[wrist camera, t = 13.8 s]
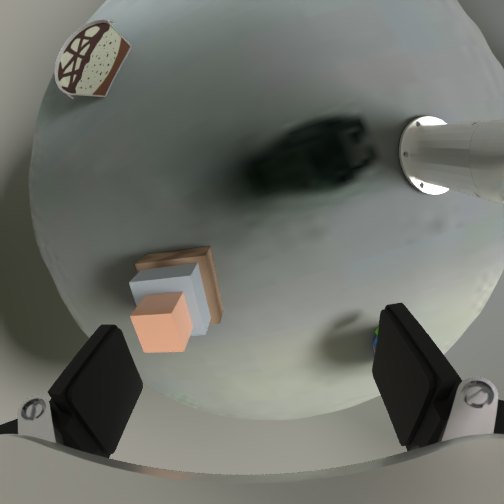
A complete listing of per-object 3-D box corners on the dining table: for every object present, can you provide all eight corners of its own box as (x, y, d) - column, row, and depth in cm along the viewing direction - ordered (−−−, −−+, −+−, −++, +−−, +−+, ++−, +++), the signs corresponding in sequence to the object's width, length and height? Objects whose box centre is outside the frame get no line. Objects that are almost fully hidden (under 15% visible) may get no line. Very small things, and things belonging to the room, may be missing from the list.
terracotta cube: (183, 291, 36) (171, 313, 31) (193, 327, 38) (184, 351, 33) (145, 295, 37) (130, 315, 32) (157, 329, 38) (144, 352, 33)
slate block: (197, 262, 40) (190, 275, 36) (211, 317, 43) (205, 334, 38) (141, 269, 41) (128, 282, 36) (157, 321, 43) (148, 337, 39)
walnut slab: (210, 245, 44) (205, 255, 39) (223, 308, 47) (219, 323, 43) (145, 254, 45) (135, 264, 40) (162, 313, 48) (154, 327, 44)
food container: (109, 32, 32) (79, 12, 23) (137, 39, 33) (108, 16, 23) (76, 96, 36) (39, 89, 26) (101, 105, 37) (65, 97, 27)
